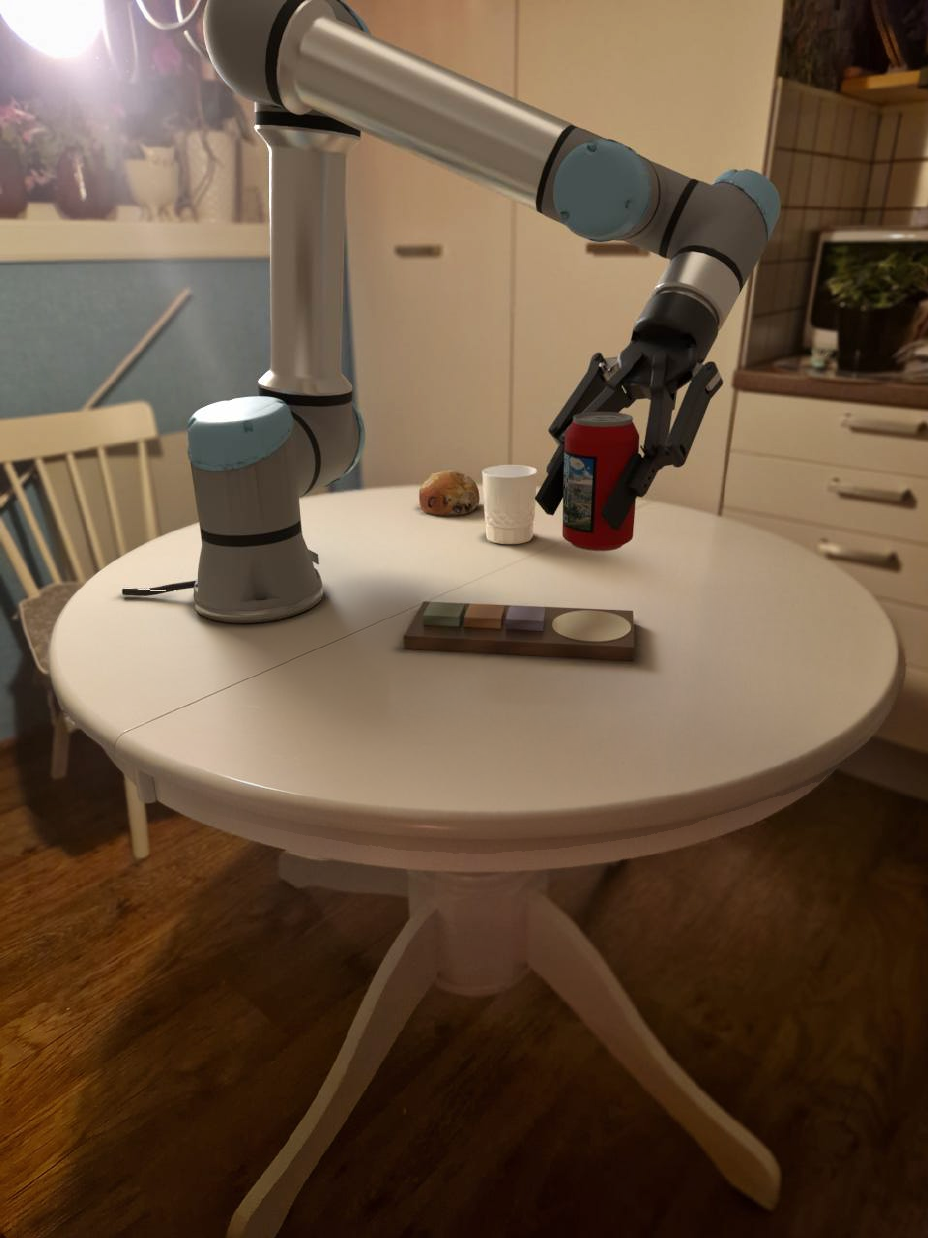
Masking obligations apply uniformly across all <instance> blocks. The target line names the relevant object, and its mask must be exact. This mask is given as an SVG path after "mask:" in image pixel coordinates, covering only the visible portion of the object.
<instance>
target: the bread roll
mask: <svg viewBox="0 0 928 1238" xmlns="http://www.w3.org/2000/svg"><path fill="white" fill-rule="evenodd" d="M480 499H481V497H480V491H479V487H478V485H477V483H476V481H475V480H474V479H473V478H472V477H470V476H469V474H465V473H464V472H462V471H458V470H457V469H456V470H455V469H445V470H443V471H438V472H432V473H431V474H430V476H429V478H427V479H425V481H424V483H423V484H422V485H421V486H420V487H419V490H418V502H419V505H420V506H419V507H420V509H421V510H422V511H423V512H425V513H426V514H430V515H433V516H440V517H441V516H442V517H443V516H445V517H446V516H460V515H467V514H468V513H472V512H473V511H474V510H475V509H476V508H477V506H478V505H479V504H480Z"/></svg>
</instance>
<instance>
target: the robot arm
mask: <svg viewBox="0 0 928 1238" xmlns="http://www.w3.org/2000/svg"><path fill="white" fill-rule="evenodd" d="M203 12H204V13H203V20H202V24H203V26H202V27H203V38H204V44H205V48H206V52H207V55H208V56H209V60H210V63H212V66H213V67H214V69H215V71H216V73H217V74H218V75H219V77H220V78H221V79H222V81H223V82H224V83H225V84H226V85H227V86H228V87H229V88H230V89H231V90H232V91H234V93H236V94H238V95H239V96H241V97H243V98H244V99H246V100H248V101H250V102H253V103H254V130H255V132H256V133H257V134H258V135H259V136H260V138H261V139H262V140H263V142H264V143H265V144H266V146H267V148H268V152H269V154H268V157H269V159H268V160H269V161H268V163H269V166H268V168H269V169H268V170H269V179H268V180H269V282H270V283H269V305H270V306H269V307H270V308H269V309H270V311H269V315H270V317H269V318H270V319H269V320H270V322H269V323H270V326H269V327H270V329H269V330H270V367H269V369H268V370H267V371H266V372H265V373H264V374H263V375H262V376H261V377H260V378H259V379H258V382H257V383H258V384H257V385H258V388H257V389H258V394H257V395H258V396H254V395H253V396H244V397H243V396H241V397H236V398H233V399H231V400H221V401H217V402H214V403H211V404H208V405H206V406H204V407H202V408H200V409H198V410H196V412H194V413H193V414H192V415H191V416H190V417H189V420H188V422H187V425H186V427H187V428H186V431H187V432H186V433H187V448H186V449H187V450H186V451H187V456H188V460H189V462H190V470H191V477H192V484H193V490H194V496H195V503H196V509H197V510H196V511H197V517H198V523H199V529H200V536H201V549H200V555H199V562H198V568H197V579H195V580H190V581H182V582H176V583H170V584H165V585H160V586H156V587H155V586H154V587H148V588H149V589H150V590H166V591H150V590H138V589H139V588H133V589H123V588H122V589H121V594H122V595H123V596H134V597H145V596H146V597H147V596H156V595H160V594H166V593H171V592H175V591H174V590H176V591H183V590H190V589H193V601H194V608H195V610H196V611H197V612H198V613H199V615H201V616H203V617H205V618H207V619H210V620H214V621H216V622H217V621H218V622H224V623H233V624H250V623H251V624H252V623H264V622H272V621H277V620H281V619H285V618H289V617H294V616H296V615H299V614H301V613H304V612H306V611H309V610H310V609H312V608H314V607H315V606H316V605H317V604H318V603H320V601H321V600H322V598H323V596H324V589H323V582H322V578H321V575H320V573H319V571H318V569H317V568H316V567H315V564H317V565H320V562H319V554H318V553H317V552H314V551H313V550H311V549H309V548H308V546H307V542H306V541H305V539H304V535H303V529H302V527H303V526H302V518H301V517H302V515H301V506H300V505H301V504H300V499H301V498H302V497H305V496H306V495H309V494H311V493H313V492H315V491H317V490H319V489H322V488H326V487H328V486H331V485H334V484H335V483H337V482H338V481H340V480H341V479H342V478H344V477H345V475H347V474H348V473H350V472H351V471H352V470H353V469H354V468H355V467H356V465H357V464H358V462H359V461H360V459H361V457H362V454H363V452H364V450H365V449H364V448H365V443H366V428H365V423H364V419H363V417H362V415H361V412H359V411H358V410H357V408H356V405H355V404H354V402H353V391H354V390H353V385H352V383H350V382H351V381H349V380H348V379H347V378H346V376H345V375H344V374H343V373H342V345H343V343H342V342H343V307H344V305H343V302H344V271H345V269H344V268H345V265H344V263H345V232H346V231H345V228H346V227H345V225H346V191H347V190H346V189H347V188H346V186H347V185H346V184H347V159H348V155H349V154H350V152H352V151H353V150H354V149H355V148H356V146H357V145H358V144H359V143H361V139H362V138H361V135H362V133H364V134H367V135H369V136H371V137H373V138H376V139H378V140H379V141H381V142H383V143H386V144H388V145H391V146H393V147H395V148H397V149H399V150H401V151H404V152H406V153H408V154H410V155H412V156H414V157H417V158H418V159H420V160H424V161H426V162H427V163H430V164H431V165H434V166H436V167H439V168H440V169H443V170H445V171H447V172H449V173H452V174H454V175H456V176H457V177H460V178H463V179H464V180H467V181H470V182H472V183H473V184H476V185H478V186H480V187H483V188H484V189H486V190H488V191H491V192H493V193H495V194H497V195H500V196H502V197H503V198H506V199H508V200H511V201H513V202H515V203H517V204H520V205H522V206H524V207H526V208H528V209H531V210H533V211H535V212H536V213H539V214H542V215H543V216H545V217H547V218H549V219H551V220H553V221H555V222H556V223H559V224H561V225H564V226H565V227H567V229H569V230H570V232H571V233H572V234H574V235H577V236H578V237H581V238H583V239H586V240H588V241H590V242H595V243H606V242H612V241H617V242H618V241H619V242H625V243H627V244H630V245H633V246H635V247H638V248H640V249H642V250H644V251H648V252H650V253H653V254H655V255H657V256H660V257H661V258H664V259H667V260H669V263H668V265H667V267H666V268H665V270H664V271H663V273H662V275H661V276H660V278H659V280H658V281H657V283H656V285H655V287H654V289H653V290H652V292H651V295H650V298H649V299H648V301H647V302H646V304H645V305H644V307H643V309H642V311H641V312H640V315H639V316H638V318H637V320H636V321H635V323H634V325H633V328H632V333H631V338H630V342H629V344H628V345H627V346H626V347H625V348H624V349H623V350H621V351H620V352H619V354H618V356H612V357H604V355H603V353H602V352H596V353H594V354H592V356H591V357H590V361H589V364H588V368H587V370H586V373H585V374H584V375H583V377H582V378H581V380H580V381H579V383H578V384H577V385H576V387H575V389H574V390H573V392H572V393H571V395H570V396H569V397H568V398H567V400H566V402H565V404H564V405H563V406H562V408H561V409H560V411H559V412H558V414H557V415H556V416H555V418H554V420H553V421H552V422H551V424H550V425H549V427H548V429H547V431H548V434H549V435H550V436H551V437H552V439H553V440H554V442H555V443H556V444H557V447H556V449H555V450H554V453H553V455H552V457H551V458H550V460H549V462H548V464H547V466H546V470H545V472H546V473H547V476H546V477H545V479H544V481H543V482H542V484H541V486H540V488H539V490H538V492H536V497H535V500H536V503H537V504H538V505H539V507H540V508H541V509H542V510H543V511H544V513H545V514H546V515H549V516H554V515H555V513H556V511H557V509H558V508H559V506H560V504H561V502H562V501H563V481H564V452H565V434H566V432H567V430H568V429H569V427H570V425H571V423H572V422H573V417H574V416H575V415H577V414H581V413H588V412H615V413H621V411H622V410H623V409H629V408H630V407H631V406H632V405H633V404H634V403H635V402H636V401H637V400H649V409H648V415H647V422H646V429H645V435H644V442H643V444H642V445H641V444H639V449H641V451H642V453H643V455H642V454H641V453H633V454H632V455H631V457H630V459H629V461H628V463H627V465H626V466H625V468H624V470H623V472H622V474H621V476H620V478H619V479H618V481H617V483H616V485H615V487H614V489H613V491H612V492H611V494H610V496H609V498H608V500H607V502H606V504H605V505H604V507H603V509H602V511H601V515H602V516H603V518H604V519H605V520H606V522H607V523H608V525H609V526H610V527H611V529H613V530H617V531H619V530H620V528H621V526H622V524H623V522H624V520H625V518H626V516H627V515H628V513H629V511H630V509H631V507H632V505H633V503H634V501H635V499H636V500H637V497H638V498H643V497H644V496H645V495H646V494H647V493H648V491H649V489H650V487H652V484H653V482H654V480H655V478H656V477H657V474H658V472H659V471H660V470H662V469H664V467H667V466H673V467H674V468H681V467H683V466H684V465H685V464H686V461H687V459H688V457H689V454H690V452H691V449H692V447H693V445H694V442H695V439H696V436H697V435H698V432H699V428H700V427H701V424H702V422H703V419H704V418H705V417H704V416H705V414H706V412H707V409H708V406H709V405H710V402H711V399H713V397H714V396H715V395H716V394H717V392H718V391H719V390H720V389H721V388H722V387H723V385H724V380H723V378H722V375H721V373H720V370H719V368H718V366H717V364H716V362H715V361H711V360H710V361H706V362H705V360H706V359H707V357H708V355H709V353H710V351H711V349H712V347H713V346H714V344H715V342H716V340H717V338H718V335H719V332H720V331H721V330H722V328H723V326H724V324H725V323H726V321H727V319H728V316H729V315H730V313H731V311H732V309H733V307H734V305H735V304H736V302H737V300H738V298H739V296H740V294H741V293H742V290H743V289H744V287H745V285H746V283H747V281H748V280H749V278H750V276H751V274H752V273H753V270H754V269H755V267H756V265H757V263H758V262H759V260H760V258H761V256H762V255H763V253H764V251H765V249H766V247H767V245H768V242H769V240H770V238H771V236H772V234H773V231H774V229H775V227H776V225H777V224H778V220H779V219H780V214H781V209H782V204H781V197H780V194H779V192H778V189H777V188H776V186H775V185H774V183H772V182H771V180H770V179H769V178H768V177H766V176H765V175H763V174H762V173H760V172H758V171H756V170H753V169H749V168H745V169H742V170H740V169H739V170H738V169H735V168H734V169H733V168H732V169H729V170H727V171H725V172H723V173H721V174H720V175H719V176H718V177H717V178H716V179H715V180H714V181H713V182H712V183H711V184H710V183H708V182H705V181H702V180H698V179H696V178H691V177H689V176H687V175H684V174H683V173H680V172H678V171H675V170H673V169H671V168H669V167H668V166H667V167H666V166H664V165H662V164H660V163H657V162H654V161H653V160H650V159H649V158H647V157H644V156H643V155H641V154H639V153H638V152H637V151H636V150H635V149H634V148H632V147H631V146H628V145H625V144H624V143H622V142H620V141H617V140H615V139H611V138H605V137H604V136H601V135H598V134H597V133H594V132H592V131H590V130H587V129H585V128H582V127H579V126H577V125H574V124H573V123H572V122H569V121H567V120H565V119H563V118H560V117H558V116H556V115H553V114H551V113H550V112H547V111H544V110H542V109H540V108H537V107H535V106H533V105H531V104H529V103H526V102H524V101H521V100H519V99H517V98H515V97H513V96H510V95H508V94H506V93H504V92H502V91H499V90H498V89H495V88H493V87H490V86H488V85H486V84H483V83H481V82H479V81H476V80H474V79H472V78H470V77H467V76H465V75H463V74H461V73H459V72H456V71H454V70H452V69H449V68H447V67H445V66H443V65H441V64H438V63H436V62H434V61H431V60H430V59H426V58H425V57H422V56H420V55H417V54H416V53H413V52H411V51H410V50H409V51H408V50H406V49H404V48H402V47H399V46H397V45H395V44H393V43H391V42H388V41H386V40H383V39H382V38H379V37H377V36H375V35H372V32H371V30H370V28H369V27H368V25H367V24H366V22H365V21H364V20H363V19H362V18H361V16H360V15H359V14H358V13H357V12H355V11H354V10H353V9H352V8H351V7H350V6H349V5H348V4H347V3H346V2H344V1H343V0H207V2H206V4H205V7H204V11H203ZM704 362H705V363H704ZM688 383H689V384H688ZM687 384H688V386H687V389H686V392H685V394H684V396H683V399H682V401H681V403H680V406H679V408H678V411H677V413H676V416H675V418H674V420H673V423H672V426H671V422H672V417H673V411H675V409H676V401H677V396H678V391H679V390H680V389H681V388H683V387H685V386H686V385H687ZM314 563H315V564H314Z"/></svg>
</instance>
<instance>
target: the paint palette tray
mask: <svg viewBox="0 0 928 1238" xmlns="http://www.w3.org/2000/svg"><path fill="white" fill-rule="evenodd" d="M634 623H635V622H634V611H633V610H628V609H627V610H624V609H604V608H603V609H602V608H582V607H581V608H580V607H562V606H561V607H560V606H558V607H557V606H538V605H537V606H536V605H517V604H515V605H514V604H496V603H495V604H491V603H471V602H451V601H450V602H447V601H425V600H423V601H422V602H421V604H420V605H419V608H418V610H417V611H416V613H415V614H414V616H413V619H412V620H411V622H410V624H409V625H408V627H407V629H406V630H405V632H404V634H403V648H404V649H409V650H413V649H414V650H426V651H427V650H428V651H444V652H445V651H446V652H465V653H486V654H500V655H502V654H503V655H521V656H539V657H558V658H559V657H560V658H576V659H577V658H578V659H593V660H595V659H596V660H611V661H612V660H613V661H632V662H633V661H634V660H635V649H636V648H635V647H636V646H635V645H636V644H635V626H634Z"/></svg>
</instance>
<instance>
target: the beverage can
mask: <svg viewBox="0 0 928 1238" xmlns="http://www.w3.org/2000/svg"><path fill="white" fill-rule="evenodd" d="M639 452H640V434H639V432H638V429H637V427H636V425H635V423H634V417H633V416H632V415H631V414H627V413H622V412H619V413H615V412H588V413H581V414H577V415H575V416H574V417H573V422H572V423H571V425H570V427H569V429H568V430H567V432H566V434H565V452H564V481H563V499H562V529H561V531H562V532H561V533H562V535H561V536H562V538H563V539H564V540H565V541H567V542H568V543H570V544H571V545H572V546H573V547H575V548H577V549H579V550H584V551H588V552H609V551H615V550H618V549H620V548H621V547H623V546H624V545H626V544H628V543H629V542H631V541H632V540H633V538H634V529H635V517H636V502H637V501H636V500H637V498H636V499H635V501H634V503H633V505H632V507H631V509H630V511H629V513H628V515H627V516H626V518H625V520H624V522H623V524H622V526H621V528H620V530H619V531H617V530H613V529H611V527H610V526H609V525H608V523H607V522H606V520H605V519H604V518H603V516H602V515H601V511H602V509H603V507H604V505H605V504H606V502H607V500H608V498H609V496H610V494H611V492H612V491H613V489H614V487H615V485H616V483H617V481H618V479H619V478H620V476H621V474H622V472H623V470H624V468H625V466H626V465H627V463H628V461H629V459H630V457H631V455H632V454H633V453H639ZM639 454H640V453H639Z"/></svg>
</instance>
